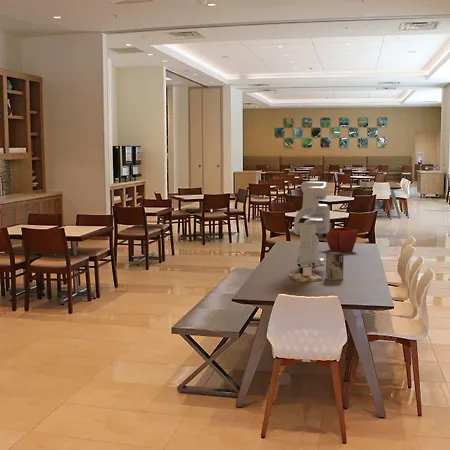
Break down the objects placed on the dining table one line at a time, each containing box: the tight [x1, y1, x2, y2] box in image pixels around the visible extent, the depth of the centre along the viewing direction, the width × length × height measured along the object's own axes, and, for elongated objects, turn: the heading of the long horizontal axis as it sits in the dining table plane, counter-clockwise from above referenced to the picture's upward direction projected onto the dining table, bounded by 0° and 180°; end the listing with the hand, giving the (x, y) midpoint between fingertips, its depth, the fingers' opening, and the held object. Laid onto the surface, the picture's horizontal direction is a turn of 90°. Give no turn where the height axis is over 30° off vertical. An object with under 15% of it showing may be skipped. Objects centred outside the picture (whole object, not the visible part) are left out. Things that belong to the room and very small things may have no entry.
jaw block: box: [302, 265, 313, 276], centre depth 384 cm, size 5×7×5 cm
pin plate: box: [288, 272, 323, 283], centre depth 385 cm, size 16×16×6 cm
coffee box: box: [325, 251, 344, 281], centre depth 383 cm, size 9×6×16 cm
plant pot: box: [324, 226, 359, 253], centre depth 481 cm, size 19×19×17 cm
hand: (305, 273), depth 385 cm, fingers closed on jaw block, 4 cm apart
